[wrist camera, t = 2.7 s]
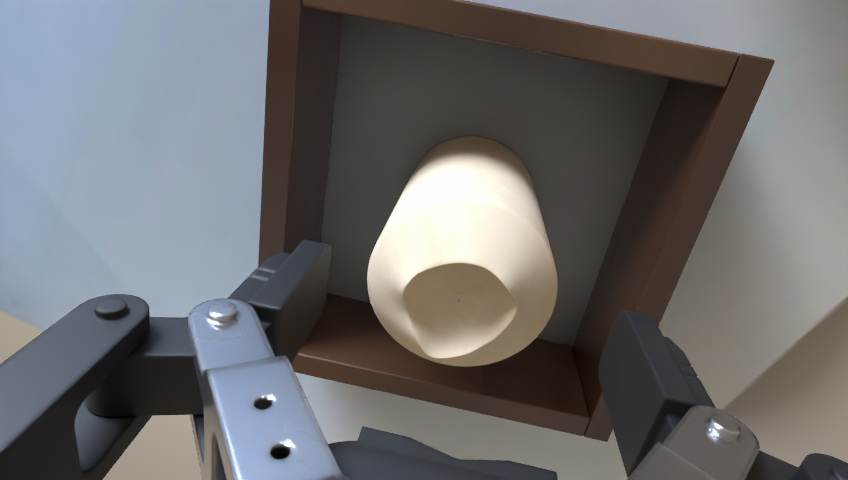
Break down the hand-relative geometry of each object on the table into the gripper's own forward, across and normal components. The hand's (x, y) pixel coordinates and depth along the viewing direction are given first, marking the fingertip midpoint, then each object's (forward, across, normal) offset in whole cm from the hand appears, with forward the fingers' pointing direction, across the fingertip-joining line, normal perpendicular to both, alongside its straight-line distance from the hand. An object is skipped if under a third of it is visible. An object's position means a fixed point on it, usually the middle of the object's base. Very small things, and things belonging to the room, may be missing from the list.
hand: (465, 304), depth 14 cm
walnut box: (+9, 0, 0) cm, 9 cm away
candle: (+10, 0, 0) cm, 10 cm away
